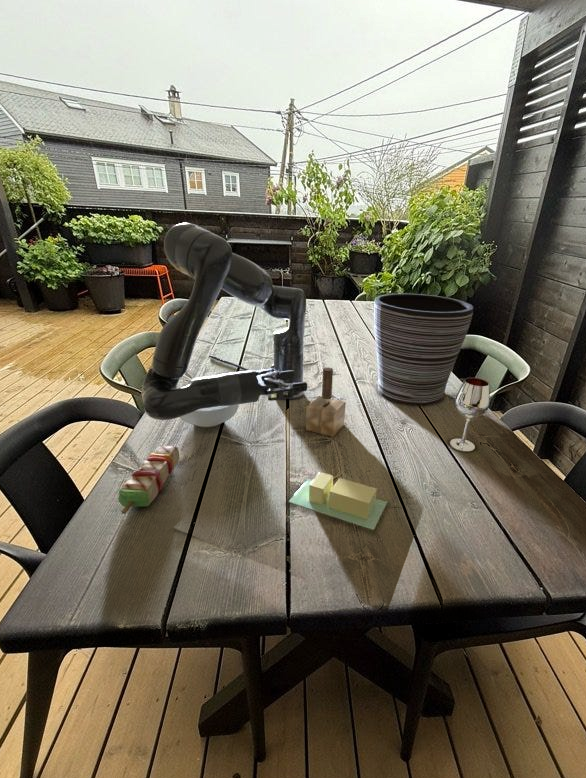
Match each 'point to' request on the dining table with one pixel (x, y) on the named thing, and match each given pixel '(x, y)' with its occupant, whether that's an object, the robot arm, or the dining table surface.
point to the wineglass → (471, 407)
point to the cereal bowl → (210, 416)
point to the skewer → (149, 478)
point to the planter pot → (418, 344)
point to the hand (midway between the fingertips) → (300, 379)
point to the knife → (327, 385)
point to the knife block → (325, 416)
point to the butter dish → (324, 508)
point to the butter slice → (320, 488)
